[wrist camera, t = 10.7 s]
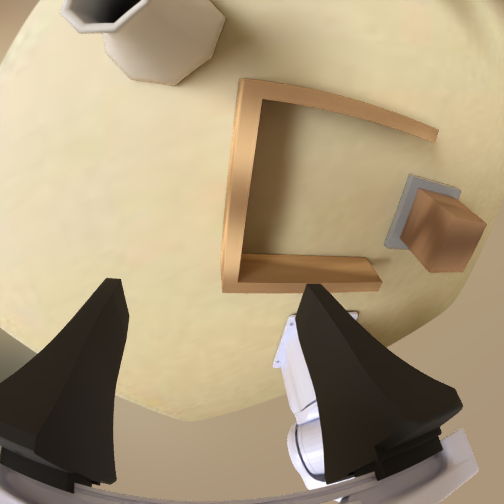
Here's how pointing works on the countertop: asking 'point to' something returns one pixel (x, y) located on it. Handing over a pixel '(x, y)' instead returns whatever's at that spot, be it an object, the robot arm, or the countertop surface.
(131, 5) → the flask
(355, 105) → the oak bracket
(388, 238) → the slate coaster
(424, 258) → the walnut block
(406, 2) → the countertop surface
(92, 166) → the countertop surface
